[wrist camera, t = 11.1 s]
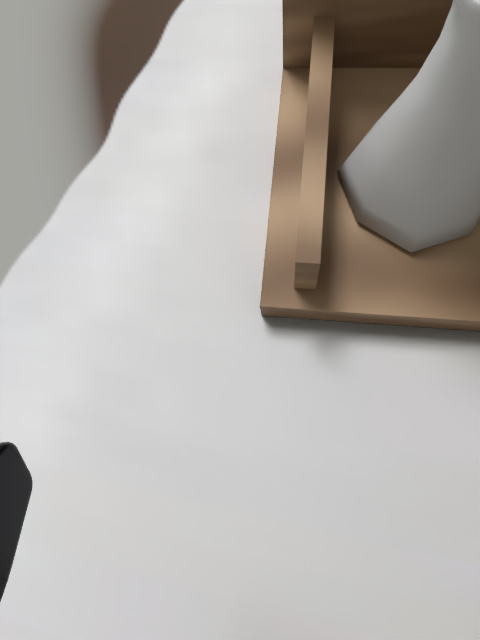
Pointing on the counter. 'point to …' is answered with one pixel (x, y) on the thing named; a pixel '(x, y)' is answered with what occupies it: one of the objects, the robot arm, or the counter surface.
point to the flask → (426, 147)
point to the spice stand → (329, 155)
